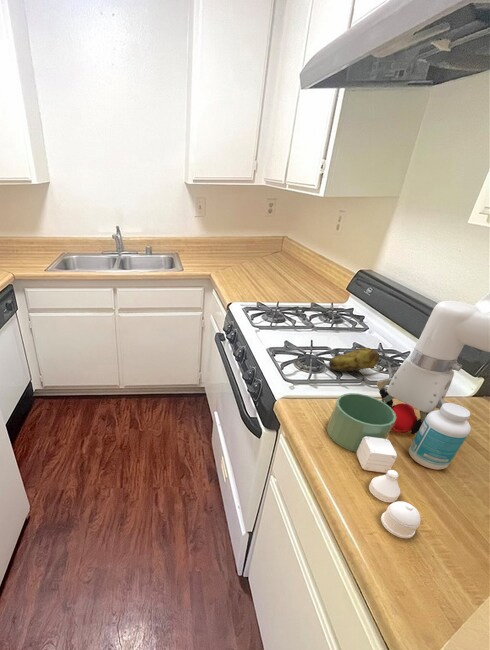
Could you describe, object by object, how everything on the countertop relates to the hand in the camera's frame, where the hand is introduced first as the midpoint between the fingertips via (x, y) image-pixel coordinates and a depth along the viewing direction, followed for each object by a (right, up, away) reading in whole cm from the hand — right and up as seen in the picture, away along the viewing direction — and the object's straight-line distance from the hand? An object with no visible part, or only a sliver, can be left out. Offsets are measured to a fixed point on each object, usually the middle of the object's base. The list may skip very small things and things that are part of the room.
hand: (398, 423), depth 84 cm
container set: (-14, -12, -16) cm, 24 cm away
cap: (0, -1, +1) cm, 1 cm away
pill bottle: (+1, -7, -8) cm, 11 cm away
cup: (-12, -3, -2) cm, 13 cm away
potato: (0, +13, +23) cm, 27 cm away
